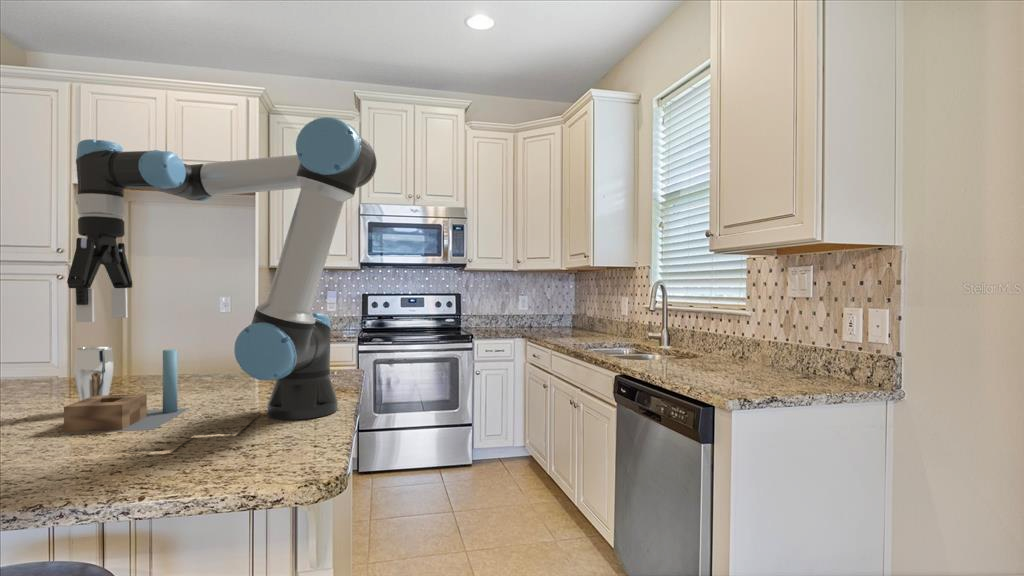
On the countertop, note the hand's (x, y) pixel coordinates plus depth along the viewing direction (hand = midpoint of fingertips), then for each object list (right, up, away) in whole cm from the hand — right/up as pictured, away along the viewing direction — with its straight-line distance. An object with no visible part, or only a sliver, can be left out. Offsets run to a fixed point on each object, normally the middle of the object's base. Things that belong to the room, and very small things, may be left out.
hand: (103, 320), depth 106 cm
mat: (+3, -22, +3) cm, 23 cm away
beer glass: (-10, -22, +10) cm, 26 cm away
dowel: (+7, -22, +10) cm, 25 cm away
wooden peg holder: (+1, -22, 0) cm, 22 cm away
